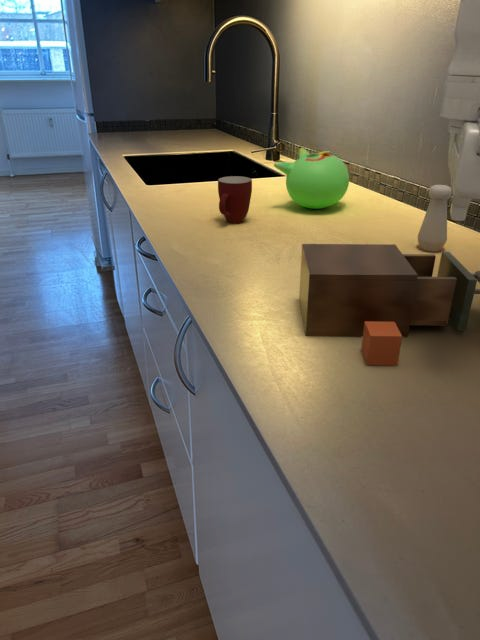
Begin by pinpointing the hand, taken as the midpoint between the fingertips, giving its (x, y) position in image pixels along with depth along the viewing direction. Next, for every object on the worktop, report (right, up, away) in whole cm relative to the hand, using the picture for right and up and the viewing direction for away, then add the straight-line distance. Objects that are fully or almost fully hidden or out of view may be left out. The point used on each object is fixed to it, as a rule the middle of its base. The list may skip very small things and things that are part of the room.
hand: (456, 217), depth 67 cm
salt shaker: (+12, +1, +40) cm, 42 cm away
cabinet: (-11, -13, +12) cm, 21 cm away
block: (-10, -18, +2) cm, 21 cm away
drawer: (0, -12, +12) cm, 17 cm away
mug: (-30, +10, +57) cm, 66 cm away
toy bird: (-9, +17, +70) cm, 73 cm away
